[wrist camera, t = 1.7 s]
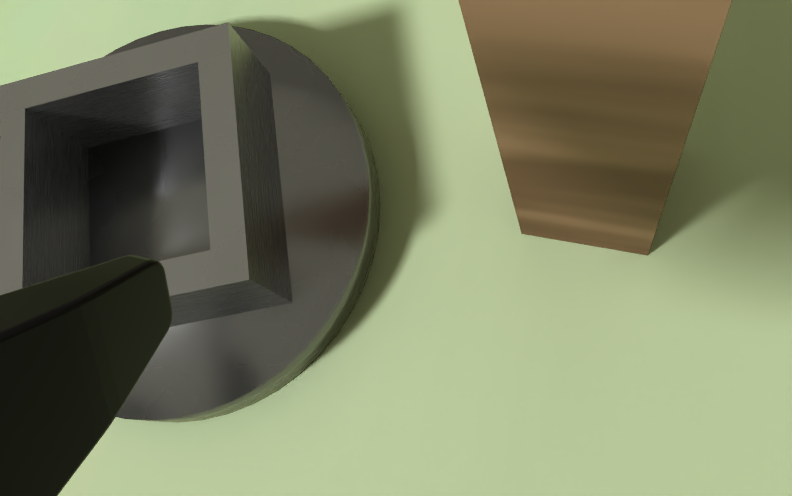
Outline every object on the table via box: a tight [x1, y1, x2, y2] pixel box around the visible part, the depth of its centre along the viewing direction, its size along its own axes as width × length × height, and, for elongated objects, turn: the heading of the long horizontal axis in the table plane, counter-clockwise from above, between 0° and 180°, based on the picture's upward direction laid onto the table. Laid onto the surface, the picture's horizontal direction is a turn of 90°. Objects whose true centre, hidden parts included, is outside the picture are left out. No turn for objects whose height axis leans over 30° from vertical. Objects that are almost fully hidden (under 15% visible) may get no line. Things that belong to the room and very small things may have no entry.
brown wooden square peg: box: [459, 0, 732, 255], centre depth 16 cm, size 4×4×13 cm
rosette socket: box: [0, 23, 380, 422], centre depth 23 cm, size 13×13×4 cm
